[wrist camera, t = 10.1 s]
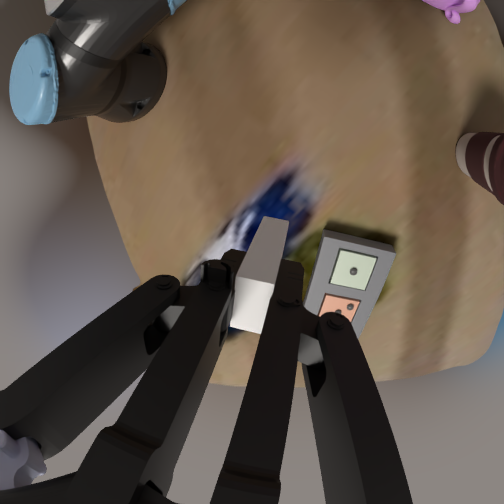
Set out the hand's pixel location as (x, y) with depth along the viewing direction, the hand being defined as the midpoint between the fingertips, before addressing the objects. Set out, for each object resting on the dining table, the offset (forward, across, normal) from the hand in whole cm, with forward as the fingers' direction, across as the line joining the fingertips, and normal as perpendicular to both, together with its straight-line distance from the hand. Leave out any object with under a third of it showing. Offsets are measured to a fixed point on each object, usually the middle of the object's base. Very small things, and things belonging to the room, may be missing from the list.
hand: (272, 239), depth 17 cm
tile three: (+26, +12, -22) cm, 36 cm away
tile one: (+26, +12, -13) cm, 31 cm away
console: (+26, +12, -22) cm, 36 cm away
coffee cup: (+26, +28, +10) cm, 40 cm away
